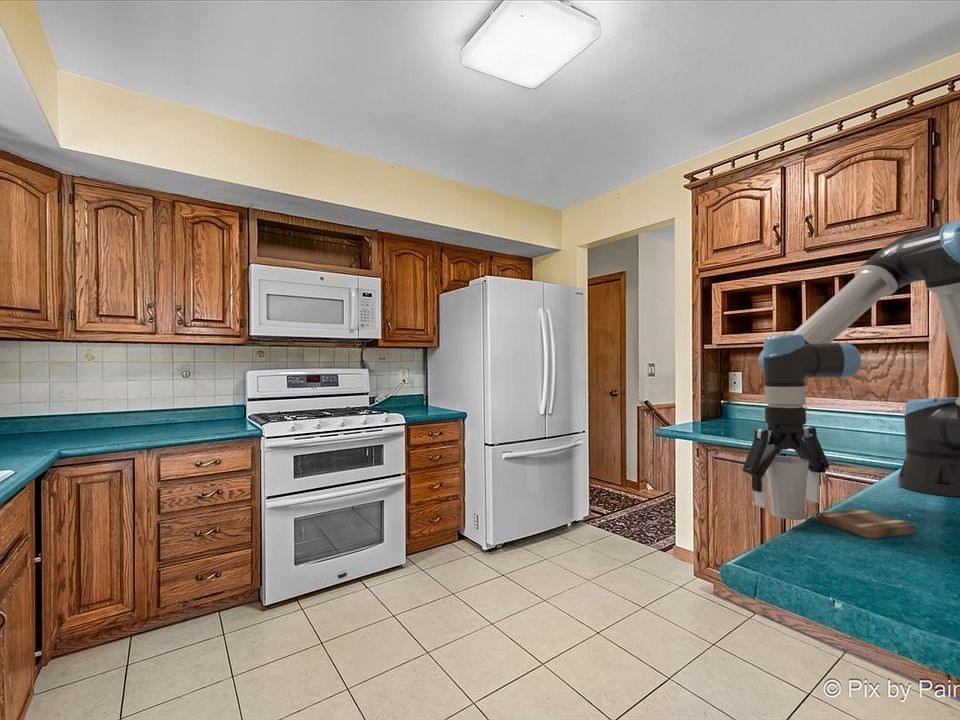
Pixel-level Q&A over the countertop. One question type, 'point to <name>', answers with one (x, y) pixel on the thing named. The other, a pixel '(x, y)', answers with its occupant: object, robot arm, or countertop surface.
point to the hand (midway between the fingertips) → (787, 504)
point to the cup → (788, 487)
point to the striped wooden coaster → (866, 523)
